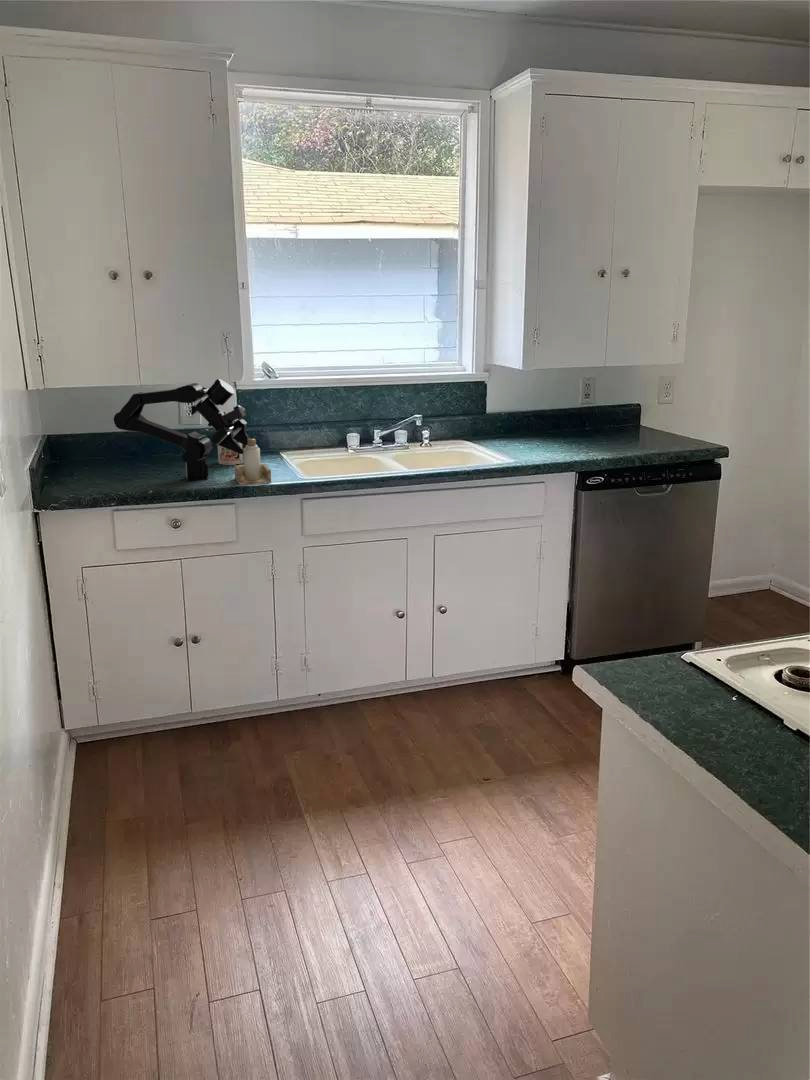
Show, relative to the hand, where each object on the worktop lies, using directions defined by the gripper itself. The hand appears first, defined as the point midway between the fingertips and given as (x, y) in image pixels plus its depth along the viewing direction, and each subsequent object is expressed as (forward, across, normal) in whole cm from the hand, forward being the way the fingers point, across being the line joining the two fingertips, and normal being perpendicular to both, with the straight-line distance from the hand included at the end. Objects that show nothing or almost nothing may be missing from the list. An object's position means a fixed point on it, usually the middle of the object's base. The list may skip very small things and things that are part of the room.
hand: (247, 450), depth 270 cm
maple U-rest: (+8, 0, +6) cm, 10 cm away
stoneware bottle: (+8, 0, +6) cm, 9 cm away
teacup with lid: (-3, +25, +17) cm, 31 cm away
